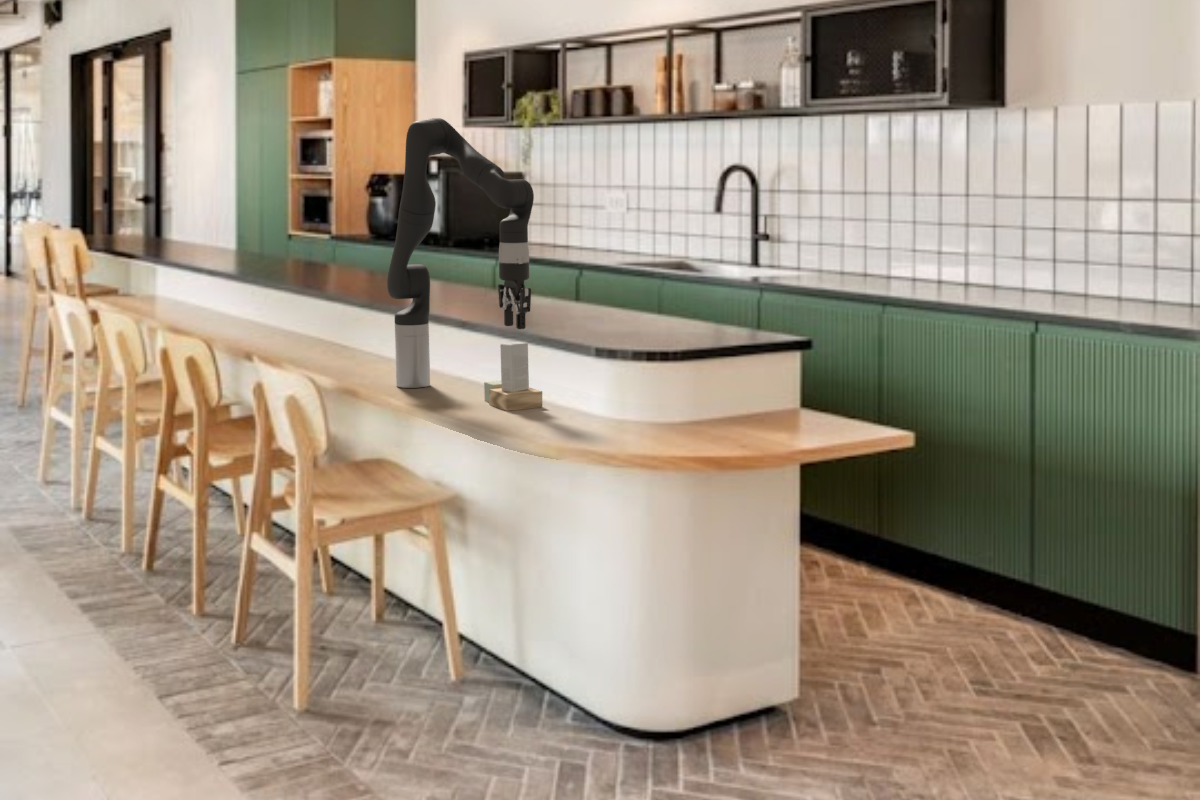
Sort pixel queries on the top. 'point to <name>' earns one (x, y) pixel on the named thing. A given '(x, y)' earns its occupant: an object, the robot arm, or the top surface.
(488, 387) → the sage cube
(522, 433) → the top surface
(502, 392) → the block
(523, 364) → the skincare box
